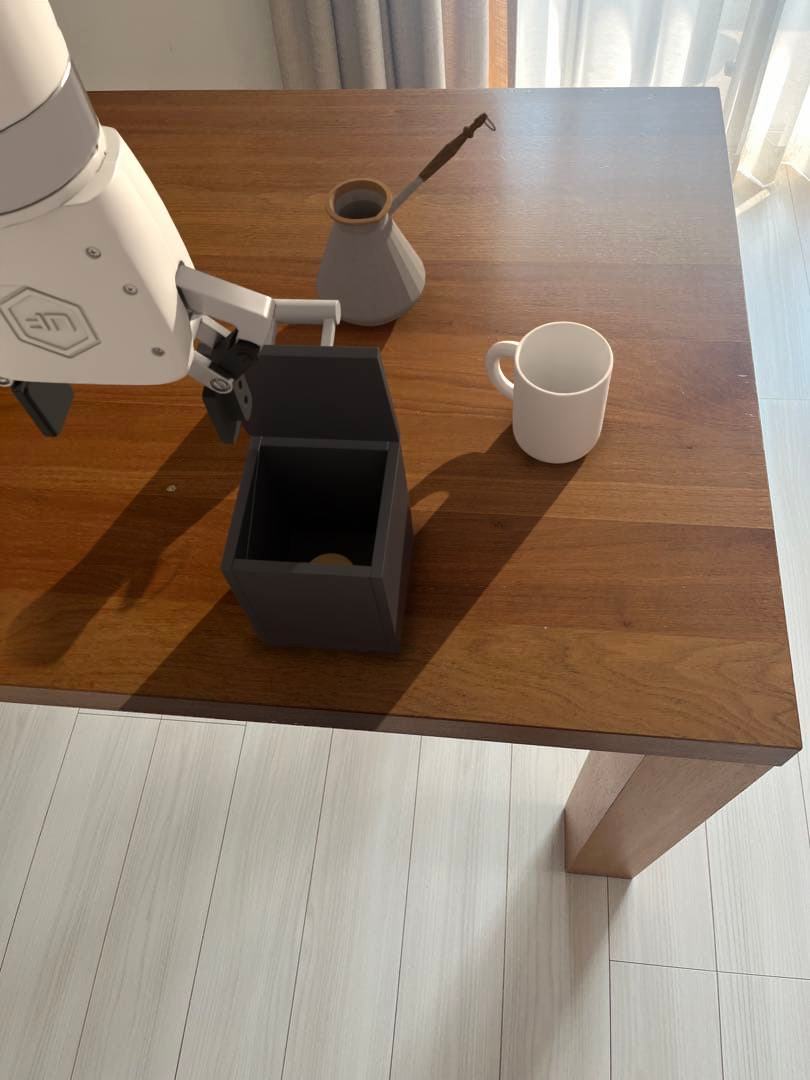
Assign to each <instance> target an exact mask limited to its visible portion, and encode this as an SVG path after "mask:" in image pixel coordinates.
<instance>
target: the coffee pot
mask: <svg viewBox="0 0 810 1080" xmlns="http://www.w3.org/2000/svg"><path fill="white" fill-rule="evenodd" d="M486 121H488V123H489V124H490V125H491V126H492V127H491V126H490V125H489V124H488V123H487V122H486ZM483 125H485V126H486V127H487V128H488V129H489V130H490V131H492V132H496V131H497V128H496V125H495V124H494V123H493V121H492V120H491V119H490V118H489V116H488V114H487V113H486V112H483V113H480V114H479V115H478V116H477V117H476V118H474V119H473V122H472V123H471V124H470V125H465V126H464V127H463V129H462V132H461V133H460V134H458V135H457V136H456V137H455V138H453V139H452V140H450V141H449V142H448V143H446V144H444V146H443V147H442V149H440V151H439V152H438V153H437V154H436V155H435V156H434V157H433V158H432V160H431V161H430V162H429V163H428V164H427V165H426V166H425V167H424V168H423V169H422V170H421V171H420V172H419V173H418V175H417V176H416V178H415V179H413V180H412V181H411V182H410V183H409V184H408V185H407V186H406V187H405V188H404V189H402V190H401V191H400V192H399V193H398V194H397V195H396V196H395V197H394V198H393V195H392V192H391V190H390V188H389V187H388V186H387V185H386V184H385V183H384V182H382V181H380V180H377V179H375V178H369V177H354V178H349V179H346V180H344V181H341V182H339V183H337V184H336V185H335V186H333V187H332V188H331V190H329V192H328V193H327V195H326V197H325V199H324V200H325V201H324V209H325V212H326V213H327V215H328V216H329V218H330V219H331V220H333V223H332V227H331V230H330V232H329V236H328V238H327V239H328V240H327V242H326V245H325V248H324V251H323V253H322V254H323V255H322V257H321V260H320V264H319V267H318V271H317V275H316V281H315V289H316V293H317V297H318V299H319V300H338V301H339V302H340V308H341V317H340V321H344V322H345V323H348V324H353V325H359V326H362V327H363V326H364V327H377V326H382V325H386V324H389V323H391V322H393V321H395V320H397V319H399V318H401V317H402V316H404V315H406V313H408V312H409V311H411V309H412V308H413V307H414V306H415V305H416V303H418V301H419V299H420V297H421V295H422V293H423V290H424V288H425V285H426V275H427V274H426V273H427V272H426V270H425V266H424V263H423V261H422V259H421V258H420V256H419V255H418V253H417V251H416V250H415V249H414V248H413V246H412V244H410V242H409V241H408V240H407V238H406V237H405V235H404V234H403V232H402V230H400V228H399V226H398V225H397V223H396V222H395V220H393V218H392V215H393V214H394V213H395V212H396V211H397V210H398V209H399V208H400V207H401V206H402V205H403V204H404V203H405V202H406V201H407V200H408V199H409V198H410V197H411V195H412V194H414V192H416V190H418V188H419V187H420V186H421V185H422V184H423V183H425V182H427V181H428V180H429V179H430V178H431V177H432V176H433V175H434V174H436V172H438V171H439V170H440V169H441V168H442V167H443V166H444V165H446V164H448V162H449V161H450V160H451V159H452V158H453V157H455V156H456V155H457V153H458V152H459V151H460V150H461V148H462V146H464V145H465V143H466V141H467V140H469V139H473V138H474V135H475V132H476V131H477V130H478V129H480V128H481V127H482V126H483Z"/></svg>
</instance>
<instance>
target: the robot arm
mask: <svg viewBox="0 0 810 1080" xmlns="http://www.w3.org/2000/svg"><path fill="white" fill-rule="evenodd" d="M73 59H74V58H73V57H72V54H71V52H70V50H69V47H68V45H67V43H66V40H65V38H64V35H63V33H62V30H61V28H60V26H59V24H58V22H57V20H56V17H55V14H54V11H53V9H52V6H51V4H50V2H49V0H0V387H4V388H8V387H9V388H10V389H11V393H12V394H13V395H14V397H15V398H16V399H17V401H18V402H19V403H20V405H21V407H23V410H24V411H25V412H26V413H27V415H28V416H29V418H30V419H31V420H32V422H33V423H34V424H35V426H36V428H37V429H38V430H39V431H40V433H41V434H42V435H43V436H44V437H45V438H56V437H57V436H59V435H60V434H61V433H62V430H63V428H64V425H65V422H66V419H67V416H68V414H69V411H70V409H71V406H72V403H73V400H74V399H75V390H74V388H73V387H72V384H77V385H79V384H80V385H81V384H82V385H110V386H111V385H113V386H114V385H116V386H117V385H118V386H155V385H156V386H157V385H165V384H171V383H175V382H177V381H179V380H182V379H183V378H185V377H187V376H188V377H190V378H191V379H193V380H195V381H196V382H198V383H199V384H201V385H203V389H202V393H201V399H202V402H203V404H204V406H205V409H206V411H207V413H208V416H209V418H210V420H211V423H212V425H213V427H214V429H215V432H216V434H217V436H218V438H219V441H220V442H223V444H224V445H236V444H237V441H238V437H239V433H240V429H241V426H242V424H241V421H248V420H249V417H250V414H251V409H252V396H251V393H250V390H249V387H248V385H247V382H246V379H245V376H244V373H245V372H246V371H247V370H249V369H250V368H251V367H252V366H253V365H254V364H255V363H257V361H258V359H259V355H260V352H261V350H262V347H263V346H264V344H265V341H266V339H267V336H268V334H269V332H270V329H271V326H272V322H273V318H274V314H275V310H276V303H275V301H274V300H273V299H274V298H273V297H271V296H268V295H267V294H266V295H265V294H263V293H260V292H258V291H255V290H252V289H249V288H246V287H245V286H241V285H239V284H236V283H233V282H230V281H228V280H225V279H222V278H219V277H217V276H214V275H211V274H208V273H206V272H203V271H200V270H198V269H196V268H195V266H194V263H193V261H192V259H191V257H190V254H189V252H188V250H187V248H186V245H185V242H184V241H183V239H182V237H181V235H180V233H179V231H178V229H177V227H176V225H175V223H174V221H173V219H172V216H171V215H170V213H169V211H168V209H167V207H166V206H165V203H164V202H163V200H162V198H161V196H160V195H159V193H158V191H157V190H156V188H155V186H154V184H153V183H152V181H151V180H150V179H151V178H149V176H148V174H147V172H145V169H144V168H143V166H142V165H141V163H140V162H139V160H138V159H137V157H136V156H135V154H134V153H133V152H132V150H131V148H130V147H129V145H128V144H127V143H126V141H125V140H124V139H123V137H122V136H121V135H120V133H119V132H118V130H117V129H116V128H114V127H110V126H106V125H101V123H100V121H99V118H98V116H97V114H96V111H95V109H94V107H93V105H92V102H91V100H90V97H89V95H88V93H87V91H86V87H85V85H84V83H83V81H82V78H81V76H80V74H79V71H78V68H77V66H76V64H75V61H74V60H73ZM214 319H215V320H214ZM216 320H218V321H220V322H224V323H227V324H230V325H231V326H233V327H234V329H232V331H231V330H229V329H228V328H226V327H225V326H224V325H222V324H220V323H219V322H217V321H216ZM196 340H198V341H199V342H200V343H204V344H206V345H207V346H209V347H210V348H212V349H213V350H212V351H211V355H210V358H209V359H208V358H206V357H205V356H203V355H201V354H200V353H198V352H197V350H195V347H194V346H195V342H196Z"/></svg>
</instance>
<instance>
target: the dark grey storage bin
mask: <svg viewBox="0 0 810 1080" xmlns="http://www.w3.org/2000/svg"><path fill="white" fill-rule="evenodd" d="M233 508H234V509H233V512H232V516H231V520H230V524H229V528H228V533H227V537H226V541H225V545H224V549H223V553H222V558H221V562H220V566H219V570H220V571H221V572H220V573H222V575H223V577H224V578H225V580H226V582H227V584H228V586H229V587H230V589H231V591H232V593H233V595H234V596H235V598H236V600H237V602H238V603H239V605H240V607H241V608H242V610H243V612H244V614H245V616H246V617H247V620H248V622H249V623H250V625H251V627H252V628H253V630H254V632H255V634H256V635H257V637H258V639H259V641H260V643H261V644H262V646H273V647H287V648H300V649H302V648H303V649H317V650H318V649H319V650H331V651H332V650H333V651H345V652H359V653H360V652H361V653H375V654H387V655H388V654H389V655H400V654H401V647H402V639H403V630H404V622H405V612H406V605H407V598H408V597H407V596H408V588H409V579H410V570H411V563H412V556H413V555H412V554H413V547H414V546H413V545H414V536H415V530H414V523H413V516H412V510H411V509H412V508H411V502H410V496H409V489H408V482H407V476H406V469H405V462H404V456H403V448H402V443H401V441H400V442H384V441H358V440H332V439H306V438H280V437H253V436H250V440H249V444H248V449H247V452H246V457H245V461H244V466H243V470H242V473H241V477H240V482H239V487H238V491H237V494H236V498H235V503H234V507H233ZM328 553H335V554H339V555H342V556H344V557H346V558H347V559H349V560H350V561H351V563H352V564H353V565H336V564H318V563H310V562H311V561H312V560H313V559H314V558H316V557H318V556H320V555H323V554H328Z"/></svg>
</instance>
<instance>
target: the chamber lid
mask: <svg viewBox="0 0 810 1080" xmlns="http://www.w3.org/2000/svg"><path fill="white" fill-rule="evenodd" d="M272 299H273V300H274V301H275V303H276V310H275V314H274V318H273V322H272V326H271V329H270V332H269V334H268V336H267V339H266V341H265V344H264V346H263V347H262V350H261V352H260V355H259V359H258V361H257V363H255V364H254V365H253V366H252V367H251V368H250V369H249V370H247V371H246V372H245V373H244V376H245V379H246V382H247V385H248V387H249V390H250V393H251V396H252V409H251V414H250V417H249V420H248V421H241V426H242V428H243V429H244V431H245V432H246V434H247V435H248V437H251V436H253V437H280V438H306V439H332V440H358V441H384V442H401V430H400V426H399V422H398V418H397V414H396V410H395V407H394V406H395V405H394V402H393V399H392V398H393V397H392V394H391V391H390V387H389V383H388V378H387V374H386V372H385V367H384V363H383V359H382V355H381V351H380V348H379V347H378V346H339V345H338V346H337V345H334V341H335V333H336V326H338V325H340V322H341V319H340V317H341V308H340V302H339V301H338V300H320V299H299V298H297V299H296V298H295V299H292V298H290V299H289V298H272ZM278 324H279V325H322V330H321V331H322V332H321V339H320V345H303V344H302V345H297V344H275V343H276V337H277V330H278ZM196 346H197V348H196V351H197V352H198V353H200V354H201V355H203V356H205V357H206V358H208V359H209V358H210V355H211V351H212V350H213V349H212V348H210V347H209V346H207V345H206V344H204V343H203V342H198V343H197V345H196Z"/></svg>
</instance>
